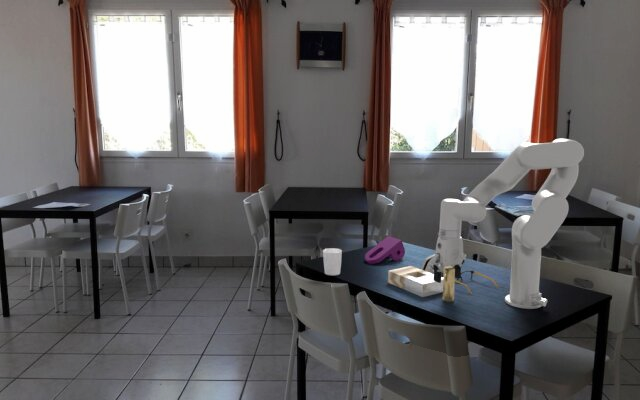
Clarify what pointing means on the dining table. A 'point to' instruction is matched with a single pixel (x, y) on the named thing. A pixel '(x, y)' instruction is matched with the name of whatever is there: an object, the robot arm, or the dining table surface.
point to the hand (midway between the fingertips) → (446, 279)
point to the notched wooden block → (403, 275)
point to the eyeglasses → (471, 278)
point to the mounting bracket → (386, 250)
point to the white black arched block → (427, 265)
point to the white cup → (332, 261)
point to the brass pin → (448, 283)
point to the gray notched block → (423, 285)
